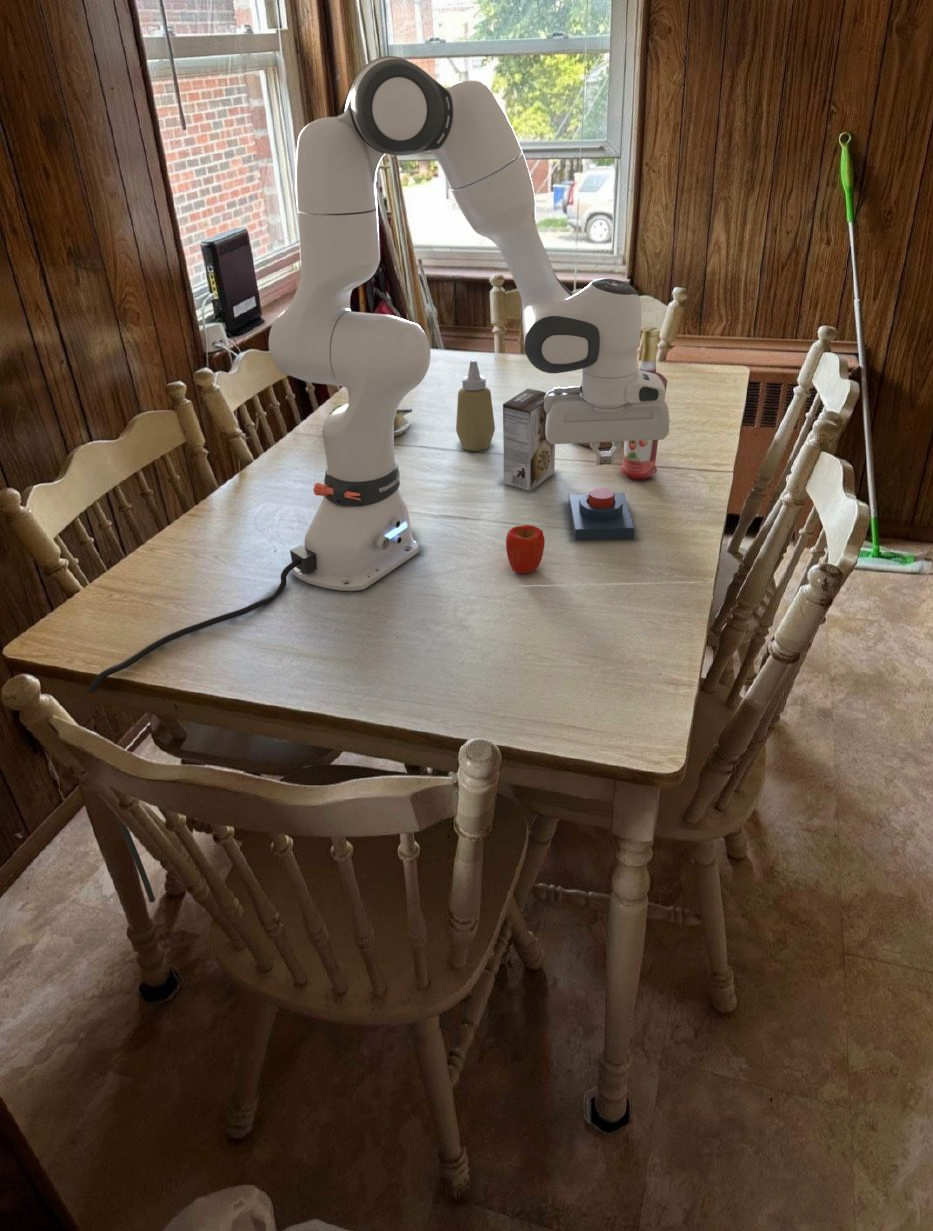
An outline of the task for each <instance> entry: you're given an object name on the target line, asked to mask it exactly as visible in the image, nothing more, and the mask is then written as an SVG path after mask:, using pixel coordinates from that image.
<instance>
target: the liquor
mask: <svg viewBox="0 0 933 1231" xmlns="http://www.w3.org/2000/svg"><path fill="white" fill-rule="evenodd" d="M659 333H660V328H659V327H656V326H655V327H654V326H646V327H644V328H642V345H643V346H642V347H643V348H642V351H641V359H640V364H639V368H638V369H639V370H642V371H646V372H650V373H653V374H656V375H658V376H659V377H660V379H661V380H662V382H663V384H664V387H665V395H666V393H667V386H668V379H667V377H665V376H664V375H663V374H662V373H660V372H658V371H657V345H658V341H659ZM664 399H665V400H666V397H665V398H664ZM658 446H659V440H641V441H624V446H623V464H622V465H621V467H620V471H621V472H622V473H623V474H624V475H625V477H627V478H628V479H630V480H632V481H638V482H639V481H640V482H641V481H646V480H648V479H650V478H651V477H653V476H655V474H657V472H658V468H657V465H656V462H657V455H658V454H657V453H658Z"/></svg>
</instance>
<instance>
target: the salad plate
mask: <svg viewBox="0 0 933 1231" xmlns="http://www.w3.org/2000/svg"><path fill="white" fill-rule="evenodd" d="M342 406H343V405H337V406H335V407H334V408H333V409H332V411H331V412H329V413H328V415H330V414H331V413H332V412H333V411H335V410H336V409H338V408H340V407H342ZM412 412H413V409H412V408H397V411H396V414H395V419H394V438H395V437H398V436H400V435H402V434H404V433H405V432H406V431H408V429H410V427H411V426H412V423H411V421H410V420H408V419H407V418H406V417H404V416H406V415H408V414H411V413H412Z"/></svg>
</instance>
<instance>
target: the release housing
mask: <svg viewBox="0 0 933 1231" xmlns="http://www.w3.org/2000/svg"><path fill="white" fill-rule="evenodd" d="M588 498H589V492H588V493H568V510H569V515H570V520H571V521H570V522H571V526H572V533H573V538H574V541H608V540H609V541H615V540H634V538H635V529H636V528H635V525H634V521H633V518H632V514H631V511H630V508H629V505H628V501H627V498H626V494H625V492H614V505H613V506H611V507H608V508H596V507H592V506H590V505H589V504H588Z"/></svg>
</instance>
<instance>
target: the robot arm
mask: <svg viewBox="0 0 933 1231" xmlns="http://www.w3.org/2000/svg"><path fill="white" fill-rule="evenodd" d="M424 152H430V153H431V154H432V155H433V156H434V158H435V160H436V161H437V163H438V164H439V166H440V168H441V169H442V172H443V174H444V177H445V179H446V182H447V184H448V186H449V188H450V191H451V193H452V195H453V198H454V201H455V203H456V204H457V206H458V207H459V209H460V211H461V213H462V214H463V217H464V218H465V219H466V221H467V222H468V224H469V225H470V227H471V228H472V229H473V231H474V232H475V233H476V234H478V235H480V236H482V237H485V238H487V239H489V240H490V241H491V242H492V243H494V245H496V247H497V248H498V250H499V251H500V253H501V255H502V257H503V259H504V261H505V263H506V266H507V268H508V270H509V273H510V275H511V277H512V279H513V281H514V284H515V286H516V289H517V291H518V294H519V298H520V325H521V329H522V333H523V334H522V335H523V346H524V352H525V355H526V358H527V360H528V361H529V363H530V364H531V365H532V366H533V367H534V368H535V369H537V370H539V371H541V372H543V373H545V374H546V373H547V374H554V375H555V374H561V373H562V374H563V373H569V372H574V371H579V370H581V380H580V381H581V382H580V385H579V386H577V385H576V386H568V387H561V386H557V387H553V389H552V390H549V391H547V392H546V393H547V394H546V395H545V397H544V410H545V412H546V413H547V416H546V424H545V435H546V439H547V440H548V442H549V443H550V444H555V445H564V444H565V445H566V444H579V443H590V445H591V448H590V449H591V450H592V452H593V454H594V455H595V465H596V466H609V465H614V464H615V457H616V455H617V454H618V453H619V451H620V450H621V448H622V446H623V442H625V441H641V440H658V441H662V440H665V439H666V437H667V436H668V435H669V434H670V410H669V405H668V404H667V401H666V394H665V387H664V384H663V382H662V380H661V379H660V377H659V376H658V375H656V374H653V373H650V372H646V371H642V370H639V369H640V368H639V363H638V362H639V361H638V358H637V355H638V354H637V352H638V350H639V349H638V348H639V346H640V342H641V333H642V332H641V331H642V306H641V305H642V304H641V298H640V295H639V293H638V292H637V290H636V289H635V288H634V287H633V286H632V285H631V284H629V283H627V282H625V281H622V280H618V279H614V278H605V277H603V278H597V279H593V280H591V281H590V282H589V284H587V286H585V287H584V288H583V289H581V290H580V291H578V292H576V293H575V294H574V293H573V292H572V291H571V290H570V289H569V288H568V287H567V286H566V285H565V284H564V283H563V282H562V281H560V279H559V278H558V277H557V275H556V273H555V271H554V268H553V265H552V264H551V261H550V258H549V256H548V254H547V251H546V248H545V246H544V243H543V242H542V238H541V236H540V234H539V231H538V227H537V220H536V206H537V203H536V195H535V190H534V185H533V181H532V177H531V173H530V170H529V167H528V163H527V160H526V158H525V155H524V152H523V150H522V147H521V145H520V142H519V140H518V137H517V136H516V133H515V131H514V129H513V126H512V125H511V122H510V120H509V119H508V116H507V115H506V113H505V111H504V109H503V108H502V106H501V104H500V102H499V101H498V99H497V98H496V96H495V94H494V92H493V91H492V90H491V89H490V88H489V86H487V84H485V83H484V82H481V81H479V80H463V81H459V82H456V83H453V84H452V85H450V86H448V87H445V86H443V85H442V84H441V83H439V82H438V81H437V80H436V79H434V78H433V77H432V76H431V75H430V74H429V73H428V72H426V71H425V70H424V69H422V68H421V67H419V66H418V65H417V64H415V63H413V62H411V61H409V60H408V59H406V58H403V57H399V56H394V55H385V56H380V57H378V58H375V59H372V60H371V61H370V62H368V63H366V64H365V65H364V66H363V67H362V68H360V70H359V71H358V72H357V73H356V74H355V77H354V78H353V79H352V81H351V84H350V86H349V88H348V91H347V93H346V96H345V99H344V101H343V104H342V106H341V108H340V110H339V113H338V115H337V116H327V117H321V118H318V119H315V120H313V121H311V122H309V123H308V124H307V125H305V126H304V127H303V128H302V130H301V131H300V133H299V135H298V138H297V146H296V158H295V196H296V197H295V199H296V208H297V220H298V229H299V230H298V231H299V243H300V244H299V245H300V275H299V280H298V284H297V287H296V291H295V294H294V296H293V298H292V300H291V302H290V303H289V305H288V306H287V307H286V309H284V310H283V311H282V312H281V313H280V314H279V315H278V316H277V317H276V318H275V320H274V322H273V323H272V325H271V328H270V330H269V335H268V350H269V354H270V357H271V360H272V363H273V364H274V366H275V368H276V369H277V370H278V371H279V372H280V373H282V374H285V375H287V376H289V377H292V378H294V379H297V380H300V381H303V382H306V383H312V384H319V385H326V386H327V385H328V386H336V387H343V388H346V390H347V393H348V402H347V403H346V404H344V405H341V406H342V407H340V408H338V409H336V410H335V411H333V410H332V411H333V412H332V411H331V412H332V413H331V412H330V413H331V414H328V416H327V418H326V419H325V421H324V424H323V428H322V438H323V445H324V452H325V460H326V468H325V472H324V474H325V476H324V479H323V483H321V482H316V483H315V484H314V485H313V488H312V489H313V490H312V491H313V494H314V495H315V496H319V497H320V496H321V497H323V498H322V500H321V502H320V505H319V507H318V508H317V511H316V512H315V515H314V517H313V519H312V521H311V523H310V525H309V527H308V529H307V531H306V533H305V536H304V545H303V544H301V545H298V546H296V547H294V548H292V549H290V550H289V553H290V559H291V562H290V563H289V564H288V565H287V566H285V567H284V568H283V570H282V571H281V574H280V584H279V585H278V587H277V589H276V590H275V591H273V593H272V594H270V595H268V596H266V597H264V598H261V599H259V600H257V601H254V602H253V603H251V604H249V605H247V606H245V607H242V608H239V609H236V610H234V611H231V612H226V613H224V614H221V615H218V616H215V617H211V618H209V619H207V620H204V621H201V622H198V623H195V624H193V625H190V626H187V627H184V628H181V629H179V630H176V631H174V632H171V633H170V634H167V635H165V636H163V637H161V638H159V639H158V640H155V641H154V642H152V643H151V644H149V645H147V646H146V647H144V648H142V649H141V650H140V651H138V652H137V653H135V654H133V655H132V656H131V657H129V658H127V659H126V660H123V661H122V662H119V663H118V664H115V665H112V666H109V667H107V668H106V669H104V670H102V671H101V672H100V673H99V674H97V675H96V676H95V677H94V679H93V680H92V682H91V684H90V686H89V688H88V690H87V693H88V694H93V693H95V692H96V691H97V689H98V688H99V686H100V685H101V683H102V682H103V681H104V680H105V679H106V678H107V677H109V676H110V675H113V674H115V673H118V672H120V671H122V670H125V669H127V668H128V667H130V666H132V665H133V664H135V663H137V662H138V661H140V660H141V659H143V658H144V657H146V656H147V655H149V654H150V653H152V652H154V651H155V650H157V649H158V648H160V647H162V646H164V645H165V644H167V643H169V642H171V641H174V640H177V639H178V638H180V637H183V636H185V635H189V634H192V633H194V632H197V631H200V630H203V629H205V628H208V627H210V626H213V625H216V624H219V623H222V622H225V621H228V620H232V619H234V618H237V617H240V616H244V615H247V614H248V613H251V612H252V611H255V610H256V609H258V608H261V607H263V606H265V605H267V604H269V603H271V602H272V601H274V600H275V599H277V598H278V597H279V596H280V595H281V594H282V593H283V591H284V590H285V588H286V587H287V584H288V583H287V582H288V581H287V576H288V575H289V573H290V572H292V575H293V576H295V577H296V578H297V579H298V580H300V581H302V582H304V583H306V584H310V585H311V586H312V585H313V586H316V587H319V588H324V589H328V590H334V591H341V592H356V591H363V590H366V589H367V588H369V587H370V586H371V585H373V584H374V583H376V582H378V581H379V580H380V579H382V578H383V577H385V576H386V575H387V574H389V573H391V572H392V571H394V570H395V569H397V568H398V567H400V566H401V565H403V564H404V563H405V562H407V561H408V560H410V559H411V558H412V557H414V556H416V555H417V554H418V553H420V548H419V547H420V546H419V544H418V543H417V542H416V541H415V540H414V538H413V532H412V527H411V522H410V516H409V510H408V505H407V503H406V502H405V500H404V498H403V497H402V494H401V492H400V489H399V488H400V486H401V482H400V481H401V479H400V478H401V475H400V474H401V472H400V470H399V464H398V462H397V461H396V456H395V437H394V419H395V414H396V411H397V409H399V406H400V404H401V403H402V401H403V400H404V398H405V397H406V396H407V395H408V394H409V393H410V392H411V391H412V390H414V389H415V388H417V387H418V386H419V385H420V384H421V383H422V381H423V380H424V379H425V377H426V375H427V374H428V370H429V368H430V363H431V357H432V356H431V355H432V354H431V353H432V352H431V347H430V346H431V345H430V341H429V339H428V336H427V334H426V333H425V331H424V329H423V328H422V327H421V325H419V324H418V323H415V322H413V321H409V320H407V319H404V318H401V317H398V316H395V315H391V314H383V313H371V312H360V311H352V309H351V296H352V292H353V291H354V289H356V288H357V287H360V286H361V285H363V284H364V283H366V282H367V281H369V280H370V279H371V278H372V277H373V276H374V275H375V274H376V272H377V270H378V268H379V265H380V262H381V250H380V249H381V248H380V232H379V214H378V213H379V212H378V199H377V173H378V169H379V165H380V163H381V161H382V160H383V158H384V157H385V156H386V154H387V155H390V156H396V157H397V156H399V157H400V156H401V157H402V156H410V155H415V154H419V153H424ZM664 398H665V399H664ZM600 442H612V443H613V445H612V446H610V449H609V451H608V450H607V451H600V450H599V449H600V448H599V446H600ZM116 819H117V818H116ZM117 822H118V825H119V826H120V829H121V832H122V834H123V837H124V839H125V842H126V844H127V846H128V849H129V851H130V854H131V856H132V859H133V861H134V863H135V866H136V869H137V871H138V874H139V877H140V879H141V882H142V885H143V887H144V890H145V892H146V896H147V898H148V901H149V903H151V904H152V903H155V901H156V897H155V894H154V892H153V888H152V886H151V883H150V881H149V878H148V874H147V872H146V870H145V867H144V864H143V862H142V859H141V857H140V854H139V852H138V849H137V847H136V844H135V842H134V840H133V837H132V834H131V831H130V830H128V829H129V828H128V829H127V827H128V826H127V827H126V826H124V825H123V824H122V823H121V822H120V820H119V819H117Z"/></svg>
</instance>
